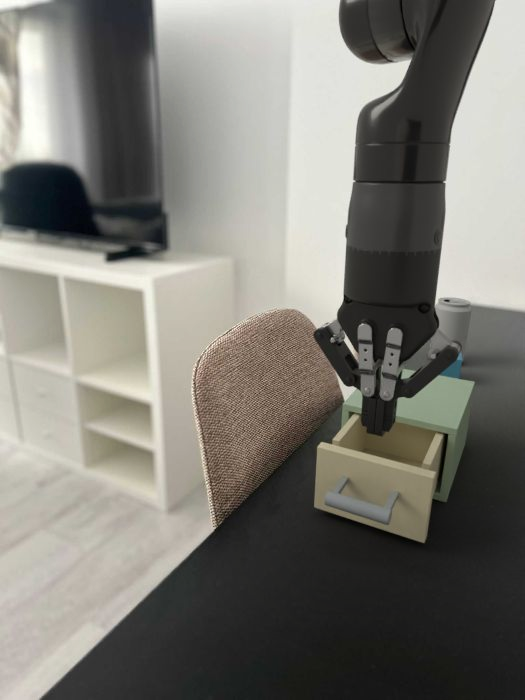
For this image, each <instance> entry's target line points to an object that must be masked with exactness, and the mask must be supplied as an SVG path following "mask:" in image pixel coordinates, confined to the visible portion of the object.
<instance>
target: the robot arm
mask: <svg viewBox="0 0 525 700" xmlns="http://www.w3.org/2000/svg"><path fill="white" fill-rule="evenodd" d="M496 1H497V0H339V3H338V4H339V6H338V26H339V31H340V32H339V33H340V35H341V38H342V40H343V42H344V44H345V46H346V48H347V50H349V52H350V53H352V55H353V56H355V57H356V58H357V59H359V60H361V61H362V62H364V63H367V64H371V65H378V66H379V65H391V64H396V63H402V62H407V61H408V62H409V61H410V62H409V65H408V67H407V69H406V72H405V74H404V77H403V79H402V80H401V82H400V83H399V85H398V86H396V88H395V89H393V90H391V91H390V92H388V93H386V94H384V95H381V96H378V97H377V98H375V99H372V100H371V101H368V102H367V103H366V104H364V105H363V107H362V108H361V109H360V111H359V112H358V116H357V121H356V127H355V141H354V156H353V172H352V174H353V175H352V180H353V182H352V186H351V193H350V199H349V204H348V209H347V220H346V221H347V223H346V225H345V232H344V233H345V234H344V237H345V257H344V260H345V261H344V274H343V275H344V276H343V299H342V303H341V304H340V307H339V308H338V309H337V311H336V318H334V319H332V320H331V321H330V322H326V323H324V324H322V325H321V326H319V327H318V328H317V329H315V330H313V331H314V332H313V335H312V336H313V339H314V341H315V342H316V344H317V345H318V347H319V348H320V350H321V352H322V353H323V354H324V356H325V358H326V359H327V360H328V362H329V364H330V366H331V367H332V368H333V370H334V372H335V373H336V375H337V376H338V378H339V379H340V380H341V382H342V384H343V385H344V386H346V387H347V388H352V387H353V388H355V389H358V390H360V391H361V393H362V411H361V423H362V426H365V427H367V429H366V432H367V433H368V434H373V435H377V436H381V437H383V435H384V434H385V432H389V431H390V429H391V428H392V426H393V424H394V423H395V420H396V410H397V400H398V398H400V397H405V398H412V397H414V396H415V395H416V394H417V393H418V392H419V391H421V390H422V389H423V388H424V387H425V386H427V385H428V384H429V383H430V382H431V381H432V380H434V379H435V378H436V377H437V376H438V375H440V374H441V373H442V372H443V371H444V370H446V369H447V368H448V367H449V366H450V365H451V364H453V363H454V362H455V361H456V360H457V358H458V356H459V354H460V352H461V350H462V345H461V343H460V342H458V341H456V340H452V341H451V340H450V339H449V338H448V337H447V336H446V335H445V334H444V333H442V332H441V331H440V330H439V329H438V328H439V318H438V316H437V314H436V310H435V306H436V299H437V290H438V283H439V282H438V281H439V276H440V275H439V274H440V266H441V265H440V264H441V257H442V249H443V241H444V240H443V239H444V231H445V224H446V223H445V222H446V212H447V211H446V209H447V207H446V205H447V204H446V187H447V184H446V181H447V176H448V167H449V159H450V151H451V142H452V141H451V140H452V131H453V126H454V123H455V119H456V116H457V113H458V110H459V107H460V104H461V102H462V99H463V96H464V93H465V90H466V88H467V84H468V81H469V79H470V76H471V73H472V70H473V67H474V65H475V63H476V60H477V57H478V55H479V52H480V50H481V46H482V45H483V43H484V40H485V37H486V34H487V32H488V28H489V25H490V22H491V20H492V16H493V13H494V9H495V4H496ZM346 337H347V339H348V341H349V343H351V346H352V347H353V349H354V350H355V352H356V353H357V354H358V360H357V358H356V357H355V355H354V354H353V352H352V350H351V349H350V348H349V346H348V345H347V342H346V341H345V339H346ZM428 342H430V343H431V347H430V346H429V348H428V350H427V353H426V355H427V358H428V360H427V361H426V362H424V363H423V364H422V365H421V366H420V367H419V368H418V369H417V370H415V371H416V372H414V373H413V374H412V375H411V376H410V377H409V378H404V379H402V373H403V369H405V367H406V362H407V361H409V360H410V359H411V358H412V357H414V355H415V354H417V352H418V351H420V350H421V349H422V347H423V346H424V345H426V344H427V343H428ZM382 365H383V368H382Z"/></svg>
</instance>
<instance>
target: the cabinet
mask: <svg viewBox="0 0 525 700" xmlns="http://www.w3.org/2000/svg"><path fill="white" fill-rule="evenodd" d="M382 368H383V364H382ZM416 371H417V370H413V369H406V368H404V369H403V373H402V379H404V378H409V377H410V376H411V375H412V374H413V373H414V372H416ZM475 385H476V381H473V380H469V379H468V380H467V379H461V378H459V379H457V378H451V377H446V376H440V375H438V376H437V377H436V378H435V379H434V380H432V381H431V382H430V383H429V384H428V385H427V386H425V387H424V388H423V389H422V390H421V391H419V392H418V393H417V394H416V395H415V396H414V397H412V398H405V397H400V398H398V400H397V410H396V420H395V422H399V423H403V424H407V425H412V426H416V427H420V428H425V429H429V430H433V431H438V432H442V433H446V434H448V437H447V444H446V451H445V457H444V464H443V470H442V473H441V476H440V479H439V481H438V484H437V487H436V489H435V492H434V495H433V497H432V500H436V501H439V502H443V503H448V498H449V496H450V491H451V489H452V486H453V483H454V480H455V476H456V475H457V474H456V473H457V470H458V467H459V464H460V461H461V458H462V455H463V452H464V449H465V446H466V441H467V435H468V429H469V422H470V416H471V410H472V404H473V398H474V393H475ZM361 411H362V393H361V391H360V390H358V389H357V388H355V390H354V391H353V392H352V393H351V394H350V395H349V396H348V397H347V398H346V400H345V401H344V402H343V403H342V411H341V427H340V430H341V429H342V428H343V426H344V425H345V424H346V423H347V422H348V420H349V419H350V418H351V417H352V416H353V414H354V413H359V414H361Z"/></svg>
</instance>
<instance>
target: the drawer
mask: <svg viewBox="0 0 525 700" xmlns="http://www.w3.org/2000/svg"><path fill="white" fill-rule="evenodd" d="M366 429H367V427H365V426H362V423H361V414H359V413H354V414H353V416H352V417H351V418H350V419H349V420H348V422H347V423H346V424H345V425H344V426H343V428H342V429H341V428H340V429H339V431H338V432H337V434H335V436H334V437H333V438H332V442H331V443H332V444H331V443H328V442H325V441H321V442H320V443H319V444H318V445H317V447H316V464H315V465H316V466H315V484H314V501H313V502H314V505H313V508H315V509H317V510H320V511H324V512H327V513H330V514H333V515H335V516H339V517H342V518H345V519H349V520H350V521H351V520H352V521H355V522H357V523H360V524H364V525H367V526H370V527H373V528H376V529H379V530H382V531H385V532H388V533H391V534H394V535H398V536H400V537H403V538H406V539H410V540H413V541H416V542H418V543H421V544H425V543H426V540H427V538H428V530H429V525H430V518H431V511H432V510H431V509H432V503H433V499H432V497H433V495H434V492H435V489H436V487H437V484H438V481H439V479H440V476H441V473H442V470H443V464H444V457H445V451H446V444H447V437H448V434H446V433H442V432H438V431H433V430H429V429H425V428H420V427H416V426H412V425H407V424H403V423H399V422H395V423H394V424H393V426H392V428H391V429H390V431H389V432H385V434H384V435H383V437H381V436H377V435H373V434H368V433H367V432H366Z"/></svg>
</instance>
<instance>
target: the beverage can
mask: <svg viewBox="0 0 525 700" xmlns="http://www.w3.org/2000/svg"><path fill="white" fill-rule="evenodd" d="M471 304H472V303H471V301H470V300H469V299H468V300H467V299H464V298H460V297H449V296H448V297H445V296H444V297H440V298H438V300H437V303H435V310H436V314H437V316H438V318H439V328H438V329H439V330H440V331H441V332H442V333H444V334H445V335H446V336H447V337H448V338H449V339H450V340H451V341H452V340H456V341H458V342H460V343H461V345H462V350H461V354H462V363H463V362H464V360H465V356H466V349H467V342H468V336H469V330H470V323H471V317H472V306H471ZM430 347H431V342H430V344H429V348H430Z"/></svg>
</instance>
